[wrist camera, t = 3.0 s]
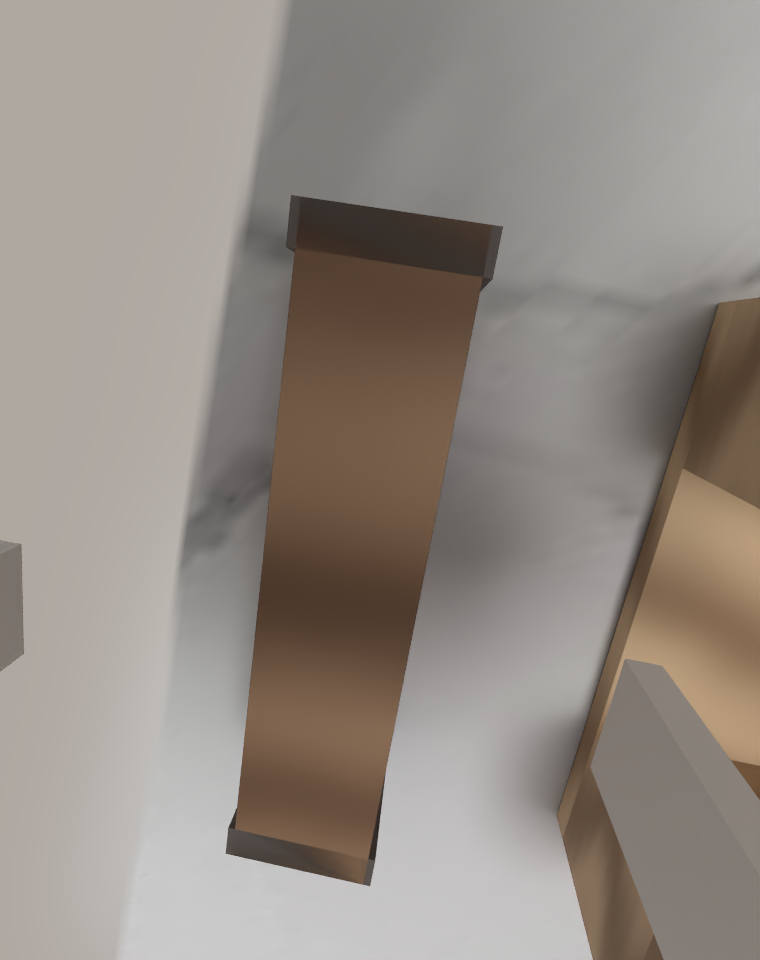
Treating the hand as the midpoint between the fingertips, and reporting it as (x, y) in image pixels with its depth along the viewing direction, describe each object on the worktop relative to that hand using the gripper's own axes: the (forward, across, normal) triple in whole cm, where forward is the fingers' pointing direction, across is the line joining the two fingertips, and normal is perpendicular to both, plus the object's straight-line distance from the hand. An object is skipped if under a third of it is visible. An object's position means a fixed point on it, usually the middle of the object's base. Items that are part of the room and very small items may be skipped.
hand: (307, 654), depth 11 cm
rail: (+8, 0, 0) cm, 8 cm away
